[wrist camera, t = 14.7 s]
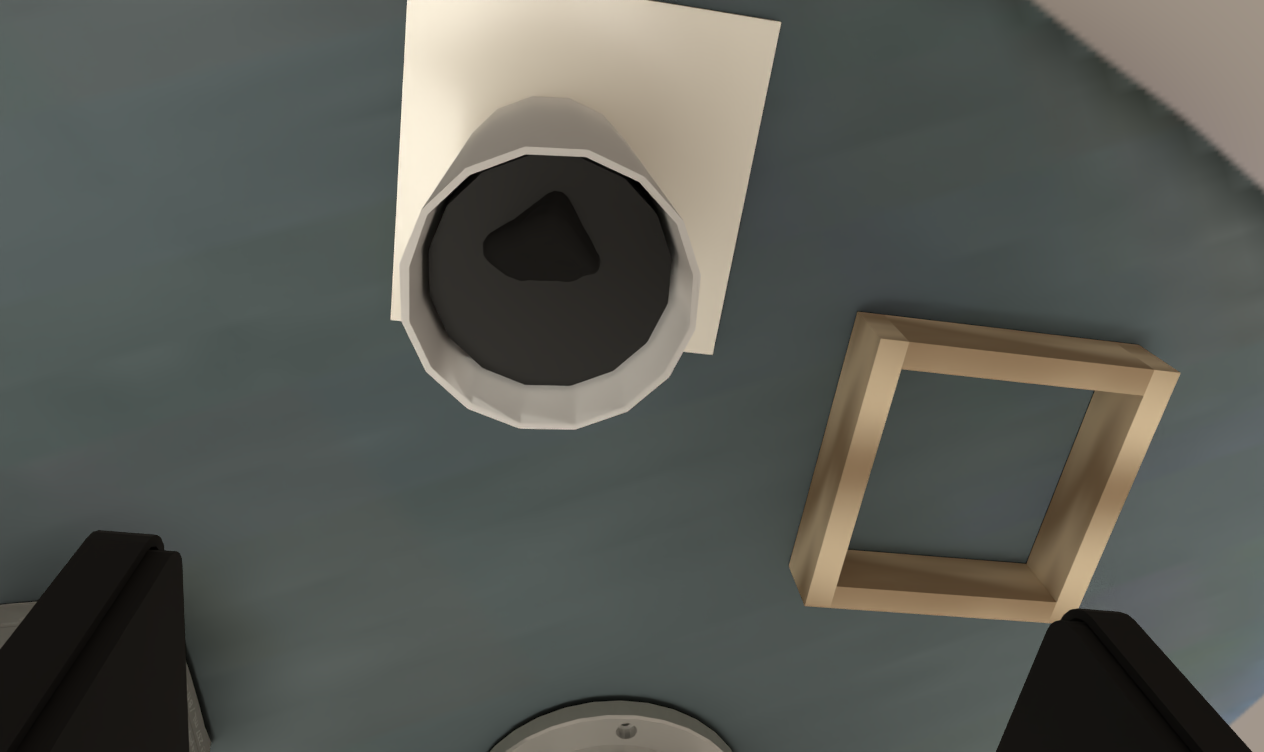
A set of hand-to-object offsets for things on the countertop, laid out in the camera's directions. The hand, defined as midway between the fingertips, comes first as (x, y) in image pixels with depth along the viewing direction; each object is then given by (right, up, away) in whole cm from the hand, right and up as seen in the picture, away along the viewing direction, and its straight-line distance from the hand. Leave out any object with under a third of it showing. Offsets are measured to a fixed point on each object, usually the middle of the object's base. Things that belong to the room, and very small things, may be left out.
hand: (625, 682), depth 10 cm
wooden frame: (+13, 0, +26) cm, 29 cm away
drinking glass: (-3, +9, +20) cm, 22 cm away
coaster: (-2, +10, +20) cm, 22 cm away
